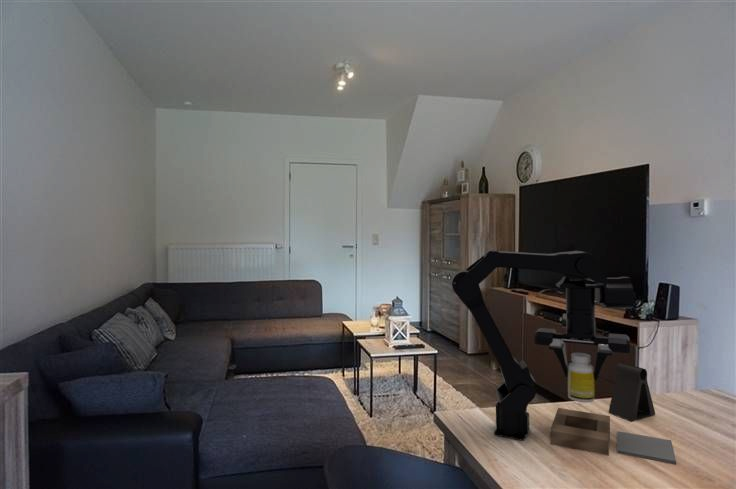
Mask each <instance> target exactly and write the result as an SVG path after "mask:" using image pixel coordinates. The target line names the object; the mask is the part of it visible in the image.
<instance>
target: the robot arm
mask: <svg viewBox="0 0 736 489" xmlns="http://www.w3.org/2000/svg"><path fill="white" fill-rule="evenodd" d="M497 268H504V269H505V268H507V269H517V270H518V269H521V270H533V271H534V270H535V271H549V272H554V273H559V274H562V275H566V276H563V277H562V278H561V279H560V280H559V281H558V282H556V283H555V286H556V287H558V288H559V289H565V307H566V308H565V311H566V313H562V318H561V327H562V328H563V329H566V333H557V331H556V328H546V327H539V328H538V329H537V330H536V331H535V332H534V334H533V336H534V337H533V342H534V345H539V346H548V350H552V351H553V353H555V356H556V357H557V359H558V362H559V364H560V366H561V369H562V371H563V373H564V377H565V378H568V365H569V364H568V359H567V350H566V349H567V348H566V343H569V344H579V345H580V344H581V345H589V346H598V347H597V353H596V360H595V368H594V372H595V373H594V380H595V382H597V381H598V377H599V375H600V371H601V370H602V366H603V364H604V363H605V361H606V359H607V357H609V356H614V353H620V354H621V353H622V354H631V348H630V347H631V346H630V345H631V341H630V339H631V338H630V337H629V336H628V335H627V334H622V333H608V337H607V336H605V337H604V336H596V335H597V323H596V303H597V304H599V305H600V306H601V308H602V309H633V308H634V307H635V304H636V294H637V293H635V290H634V286H633V284H632V279H631V277H629V276H618V277H606V275H605V274H604V273H603V272H602V271H601V269H600V268H599V267H598V261H597V258H596V257H595V256H594V255H593V254H592V253H591V252H589V251H580V250H573V251H562V252H554V253H540V252H539V253H536V252H521V251H519V252H518V251H505V250H496V249H489V250H487V251H486V252H485V253H484V254H483V255H482V256H481V257H480V258H479V259H477V260H476V261H474V262H473V263H471V265H469V266H468V267H467V268H466V269H459V270H458V271H456V272H455V273H454V274H453V276H452V279H451V287H452V290H453V291H454V293H455V294H456V296H457V297H458V298H459V299H460V301H461V302H462V304H464V306H465V307H466V309H468V310H469V312H470V313H471V315H472V316H473V318H474V320H475V322H476V324H477V326H478V328H479V330H480V331H481V333H482V335H483V337H484V339H485V340H486V343H487V345H488V346H489V348H490V350H491V352H492V354H493V356H494V358H495V360H496V361H497V363H498V365H499V368H500V372H501V375H502V378H503V381H504V382H503V383H502V384H501V385H500V386H498V387H497V388H496V389H495V394H496V396H497V399H498V401H497V403H496V404H495V430H494V432H493V434H494V436H499V437H504V438H509V439H515V440H520V441H524V440H525V438H526V437H527V436H528V434H529V432H530V413H529V412H528V411H527V410H528V405H529V403H530V402H531V403H532V402H533V400H534V399H535V397H536V394H537V389H536V386H535V385H537V384H538V383H537V382H536V380H535V378H534V377H533V375H532V373H530V369H529V367H528V366H527V363H526V362H525V361H524V359H522V360H520V361H519V362H518V361H517V359H515V357H514V356H513V354H512V352H511V351H510V349H509V346H508V345H507V343H506V341H505V339H504V337H503V336H502V334H501V331H499V328H498V327H497V326H498V325H497V324H496V323H495V320H494V319H493V316H492V315H491V313H490V312H489V310H488V308H487V305H486V303H485V300H484V296H483V293H482V290H481V287H480V284H481V283H482V282H483V281H484V280H485V279H486V278H488V276H490V274H492V272H494V271H495V269H497ZM568 276H570V277H573V278H574V277H575V278H579V279H569V278H568ZM584 279H585V280H587V281H589V282H590V281H591V282H594V283H592V284H591V283H590V284H589V283H585V282H586V281H585V280H584Z"/></svg>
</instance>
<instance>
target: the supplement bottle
mask: <svg viewBox="0 0 736 489" xmlns="http://www.w3.org/2000/svg"><path fill="white" fill-rule="evenodd" d="M570 361H571V362H569V363H568V364H567V365H568V377H567V397H568V398H569V400H572V401H574V402H579V403H587V404H588V403H592V402H595V397H596V393H595V389H596V387H595V386H596V385H595V382H596V381H595V380H594V373H595V368H594V366H593V365H592V364H591V362H592V356H591V354H589V353H585V352H572V353H571V354H570Z"/></svg>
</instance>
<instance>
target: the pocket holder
mask: <svg viewBox="0 0 736 489" xmlns="http://www.w3.org/2000/svg"><path fill="white" fill-rule="evenodd" d="M610 436H611V416H610V415H608V414H599V413H593V412H587V411H581V410H575V409H568V408H563V407H558V408H557V409H556V413H555V414H554V418H553V420H552V424H551V426H550V430H549V439H550V440H549V445H553V446H558V447H563V448H567V449H568V448H569V449H574V450H578V451H582V452H588V453H594V454H599V455H604V456H609V453H610Z"/></svg>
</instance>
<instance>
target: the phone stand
mask: <svg viewBox="0 0 736 489" xmlns="http://www.w3.org/2000/svg"><path fill="white" fill-rule="evenodd" d="M615 370H616V374H615V375H616V377H615V382H614V385H613V386H614V387H613V390H612V394H611V398H610V403H609V407H608V413H609V414H610V415H614V416H615V417H619V418H622V419H623V420H624V419H625V420H627V421H630V422H631V423H632V422H635V421H639V420H643V419H646V418H649V417H652V416H653V417H654V416H655V415H656V411H655V406H654V403H653V400H652V399H653V398H652V394H651V391H650V387H649V384H648V372H647V370H646V368H644V367H639V366H636V365H631V364H628V363H624V362H618V364H617V365H616V369H615Z"/></svg>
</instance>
